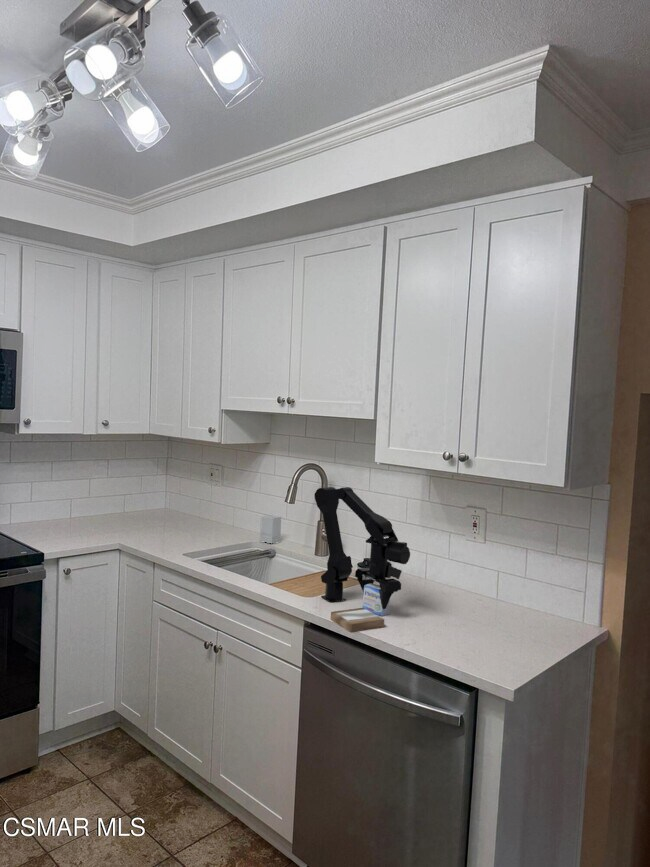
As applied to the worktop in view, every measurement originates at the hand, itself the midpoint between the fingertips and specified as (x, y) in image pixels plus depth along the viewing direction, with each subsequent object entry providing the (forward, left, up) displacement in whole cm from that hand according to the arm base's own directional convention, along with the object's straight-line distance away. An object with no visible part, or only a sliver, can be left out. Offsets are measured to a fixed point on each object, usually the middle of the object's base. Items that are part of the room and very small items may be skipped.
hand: (375, 604), depth 210 cm
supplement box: (-106, +12, -3) cm, 107 cm away
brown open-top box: (+7, -12, -2) cm, 14 cm away
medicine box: (0, 0, -3) cm, 3 cm away
